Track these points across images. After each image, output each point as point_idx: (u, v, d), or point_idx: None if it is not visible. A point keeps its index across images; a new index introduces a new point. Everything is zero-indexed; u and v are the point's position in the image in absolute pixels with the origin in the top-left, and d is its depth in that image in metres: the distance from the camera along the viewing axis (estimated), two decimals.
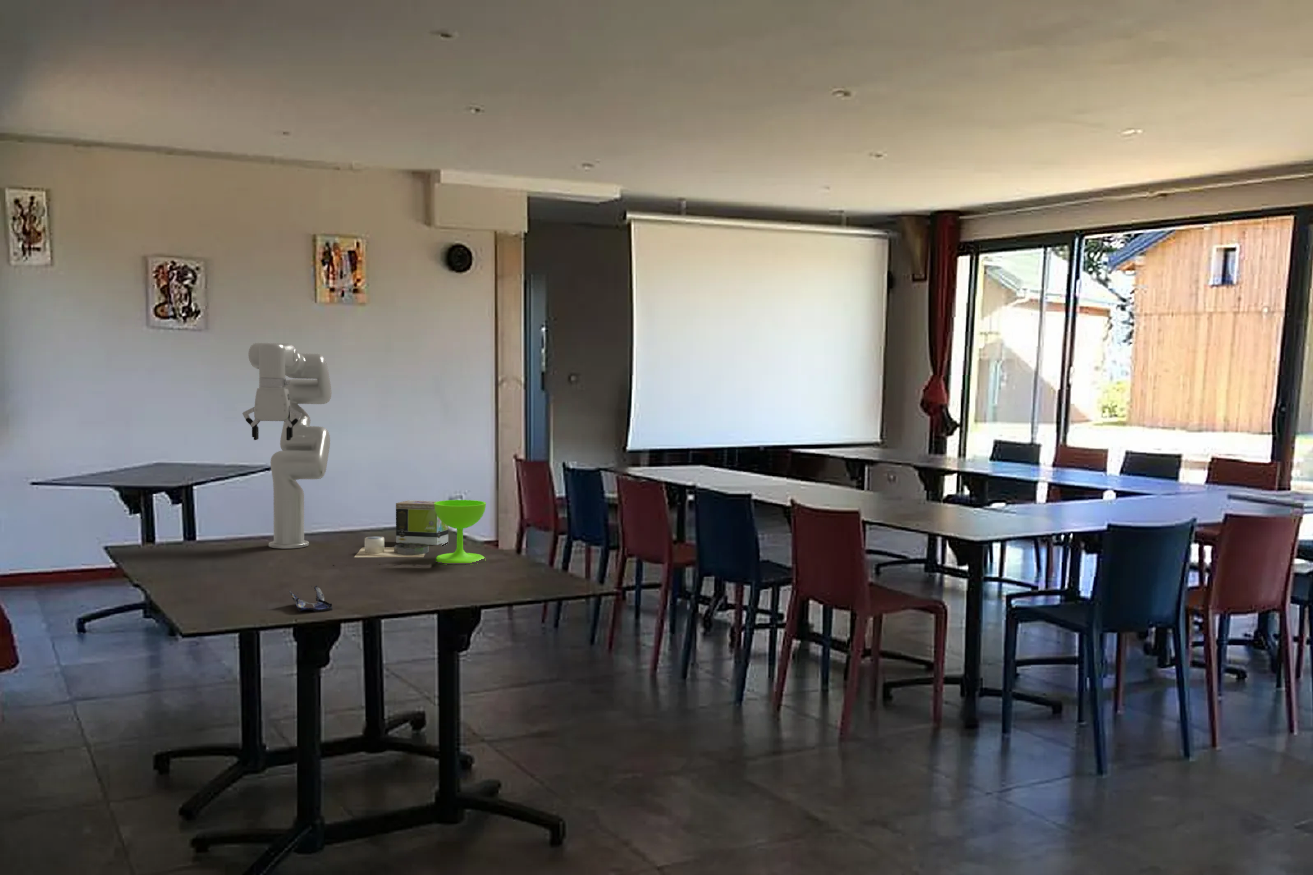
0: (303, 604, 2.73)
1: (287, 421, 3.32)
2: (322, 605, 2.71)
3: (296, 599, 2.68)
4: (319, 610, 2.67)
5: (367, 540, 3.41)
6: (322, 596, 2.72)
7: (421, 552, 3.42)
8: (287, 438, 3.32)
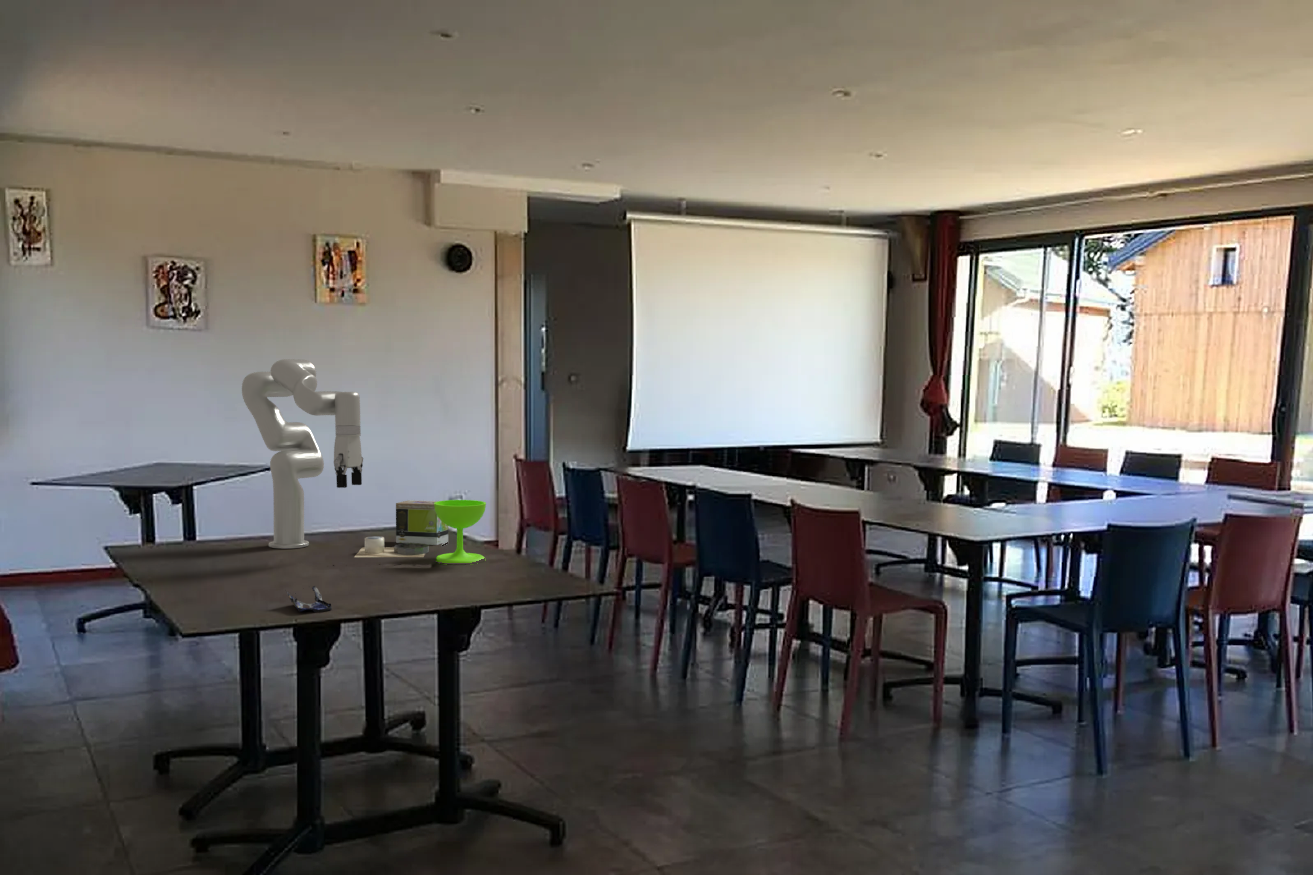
0: (300, 605, 2.72)
1: (359, 466, 3.44)
2: (320, 605, 2.71)
3: (295, 600, 2.67)
4: (319, 610, 2.66)
5: (367, 540, 3.41)
6: (320, 596, 2.72)
7: (421, 552, 3.42)
8: (361, 483, 3.44)
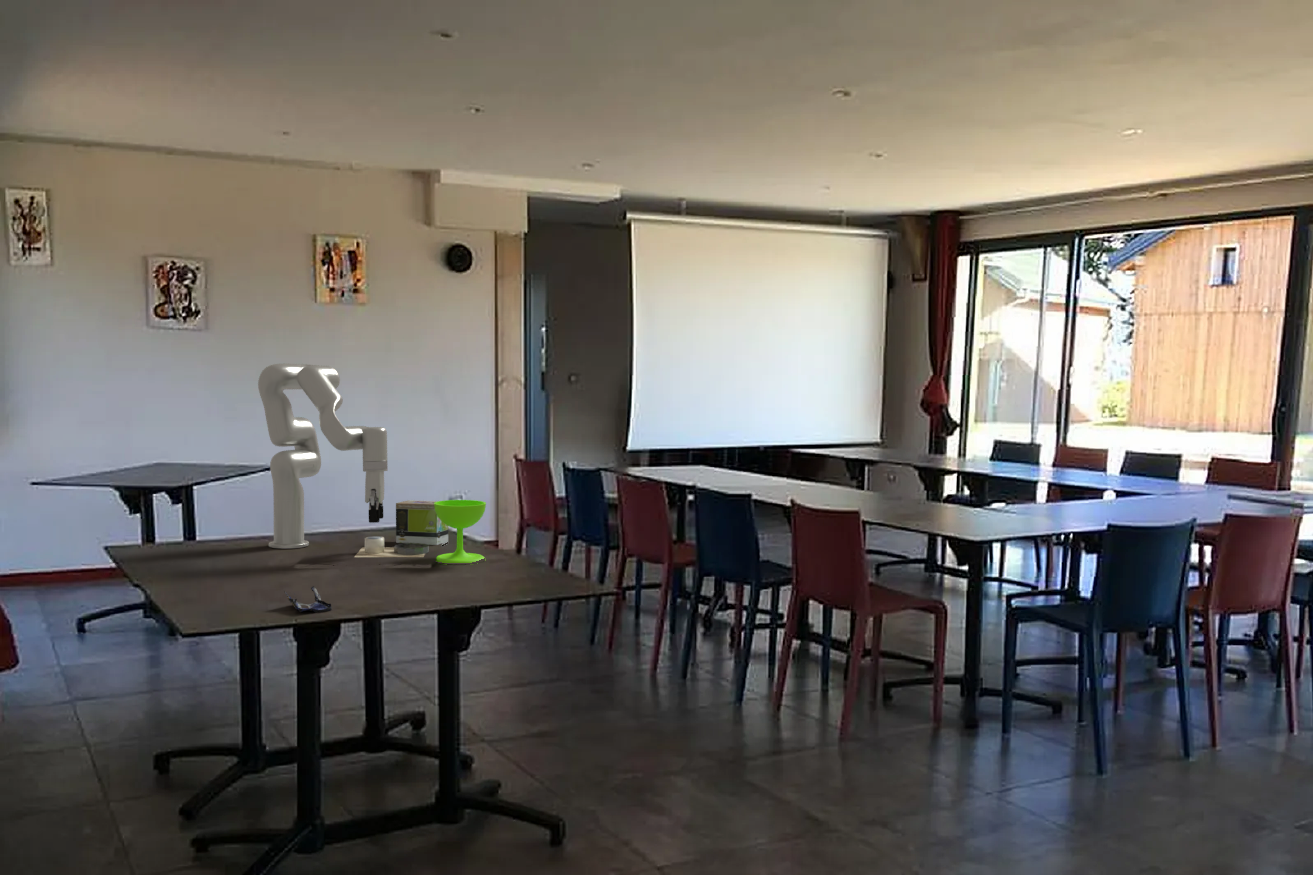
0: (298, 605, 2.72)
1: (382, 500, 3.48)
2: (319, 605, 2.70)
3: (294, 600, 2.66)
4: (319, 611, 2.66)
5: (367, 540, 3.41)
6: (319, 596, 2.71)
7: (421, 552, 3.42)
8: None
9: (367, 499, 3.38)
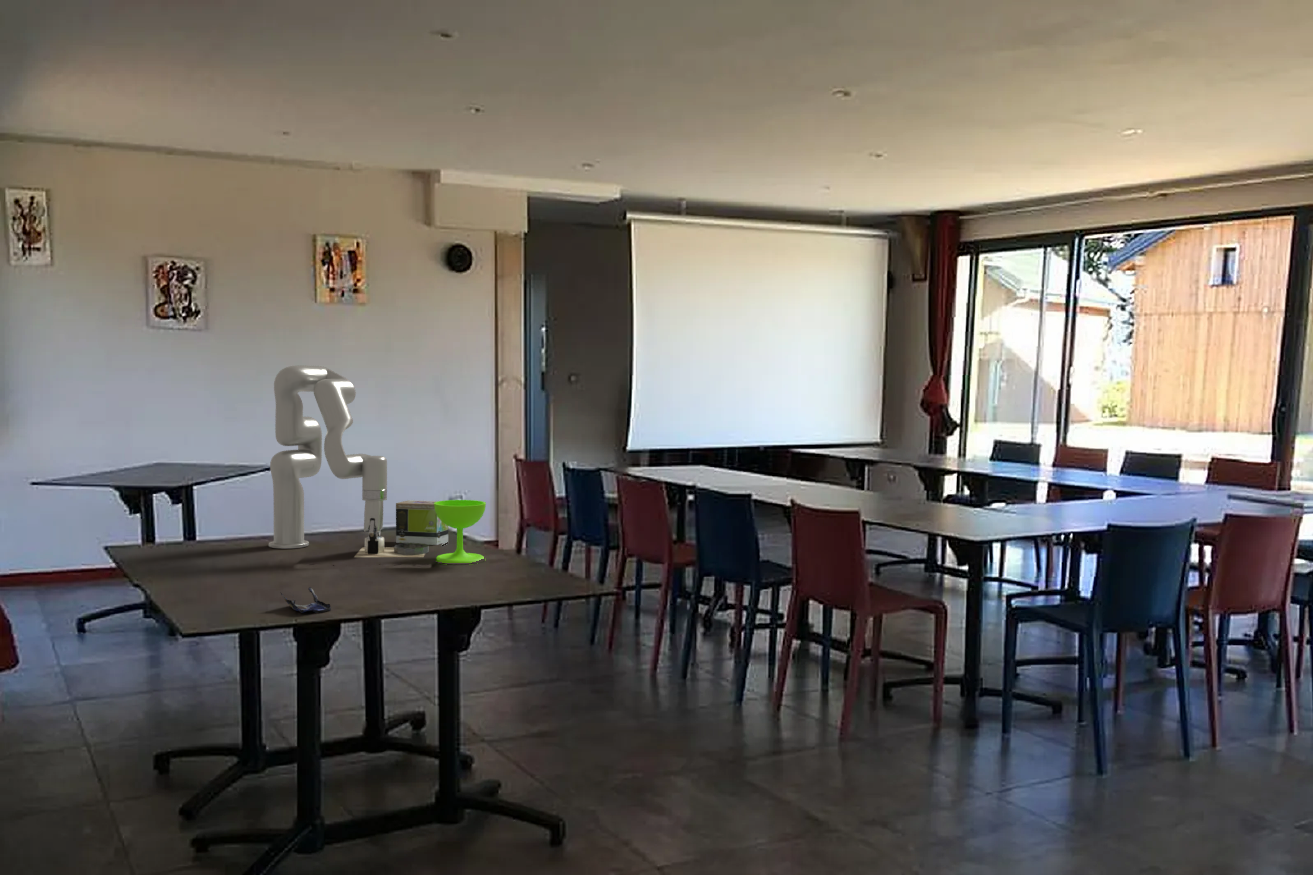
0: None
1: (380, 531, 3.48)
2: (317, 606, 2.70)
3: (293, 601, 2.65)
4: (320, 611, 2.65)
5: (367, 540, 3.41)
6: (316, 597, 2.71)
7: (421, 552, 3.42)
8: None
9: (366, 528, 3.39)
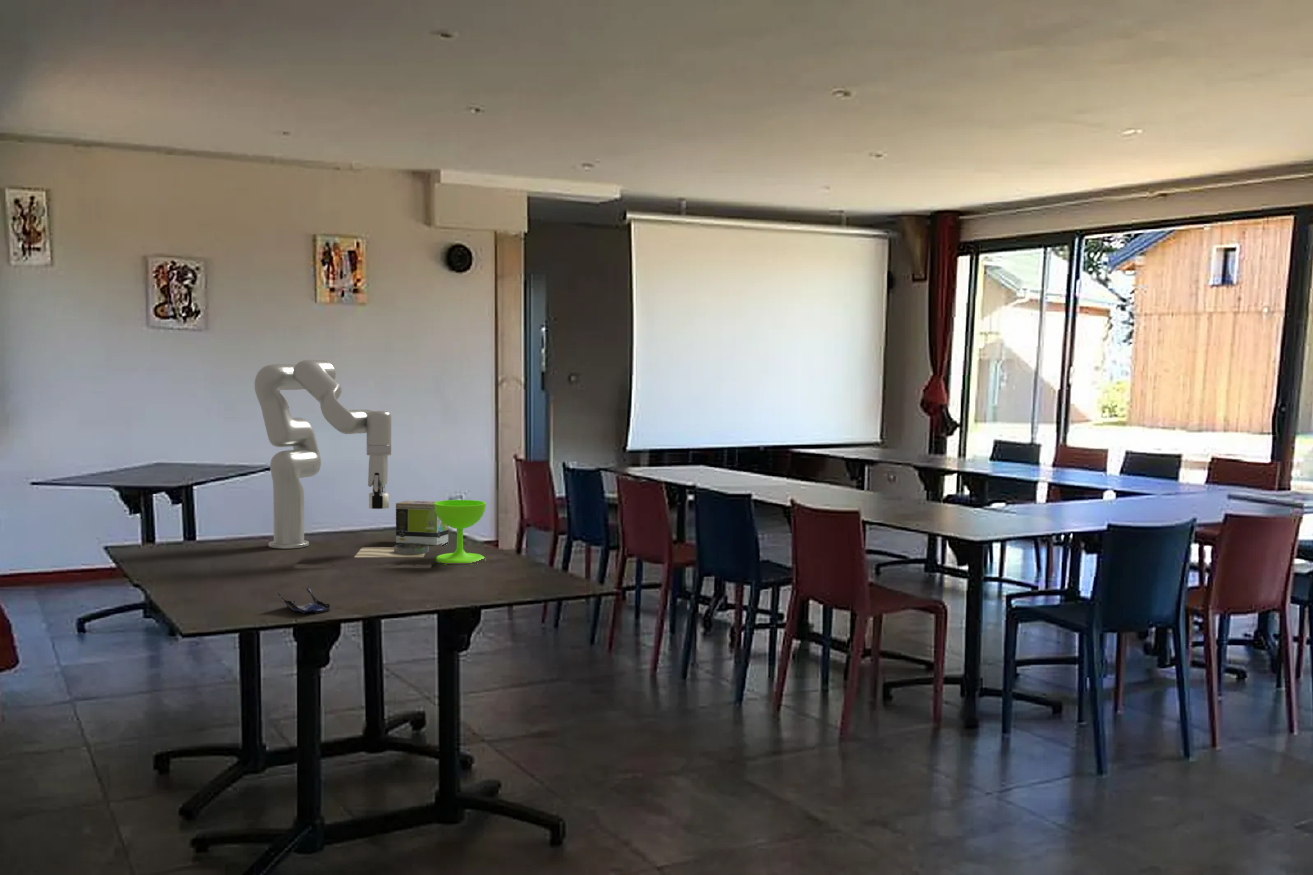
0: None
1: (384, 487, 3.47)
2: (315, 606, 2.69)
3: (293, 602, 2.64)
4: (320, 611, 2.65)
5: (371, 495, 3.41)
6: None
7: (421, 552, 3.42)
8: None
9: (370, 483, 3.38)
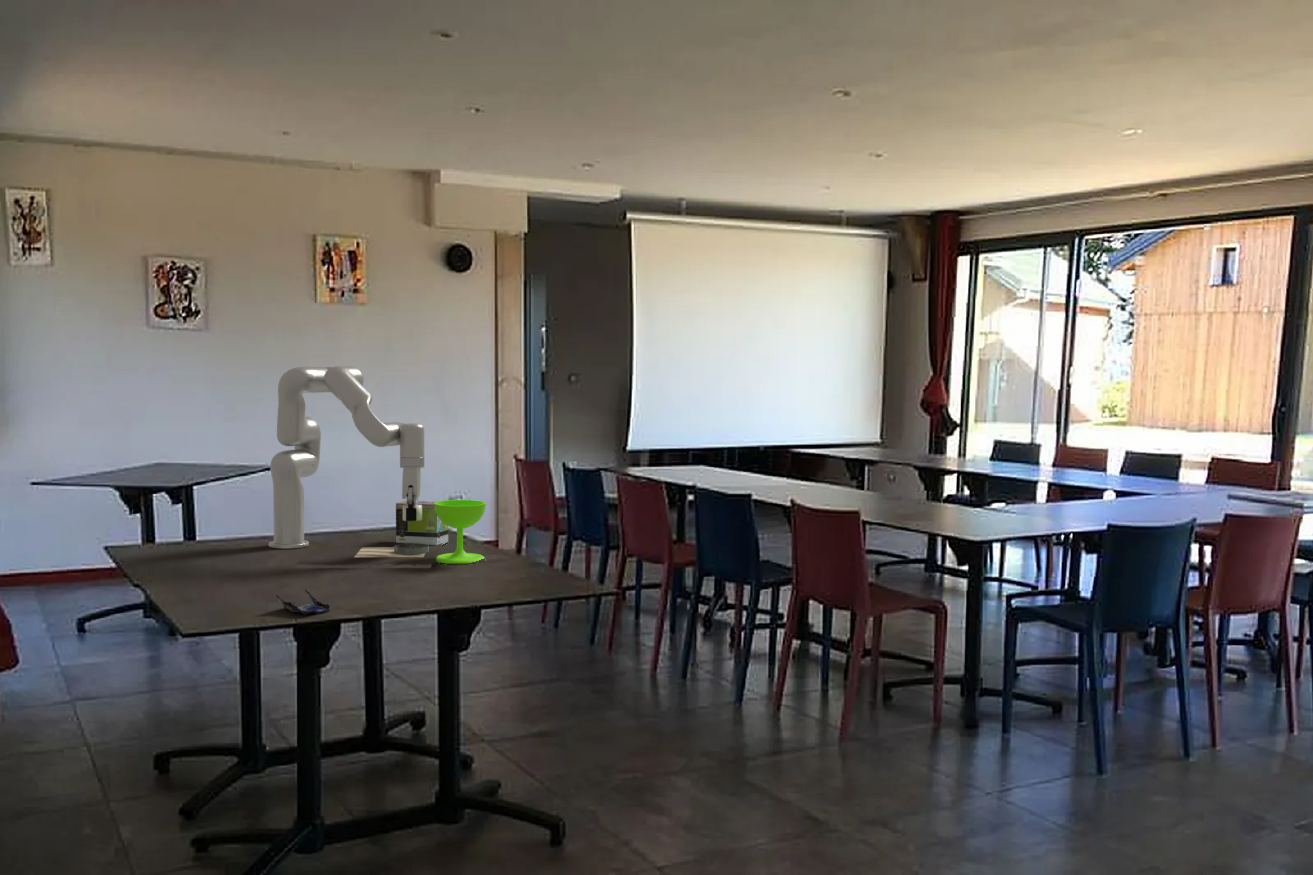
0: None
1: (417, 499, 3.48)
2: (314, 607, 2.68)
3: (293, 603, 2.63)
4: (320, 612, 2.65)
5: (405, 507, 3.42)
6: (311, 598, 2.69)
7: (421, 552, 3.42)
8: None
9: (404, 495, 3.39)
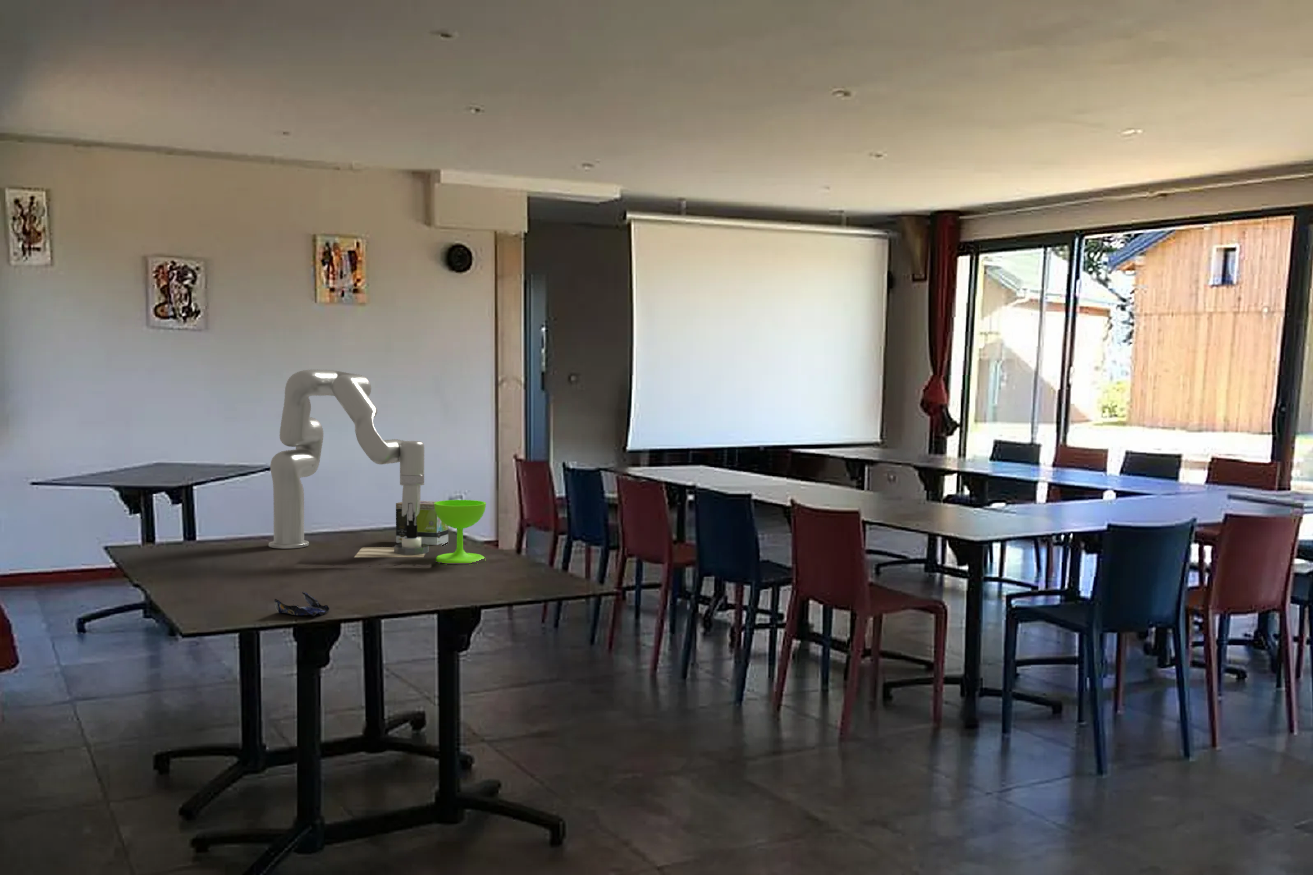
0: None
1: (416, 518, 3.47)
2: (311, 609, 2.66)
3: (297, 606, 2.60)
4: (324, 613, 2.64)
5: (404, 540, 3.43)
6: None
7: (421, 552, 3.42)
8: None
9: (404, 513, 3.40)
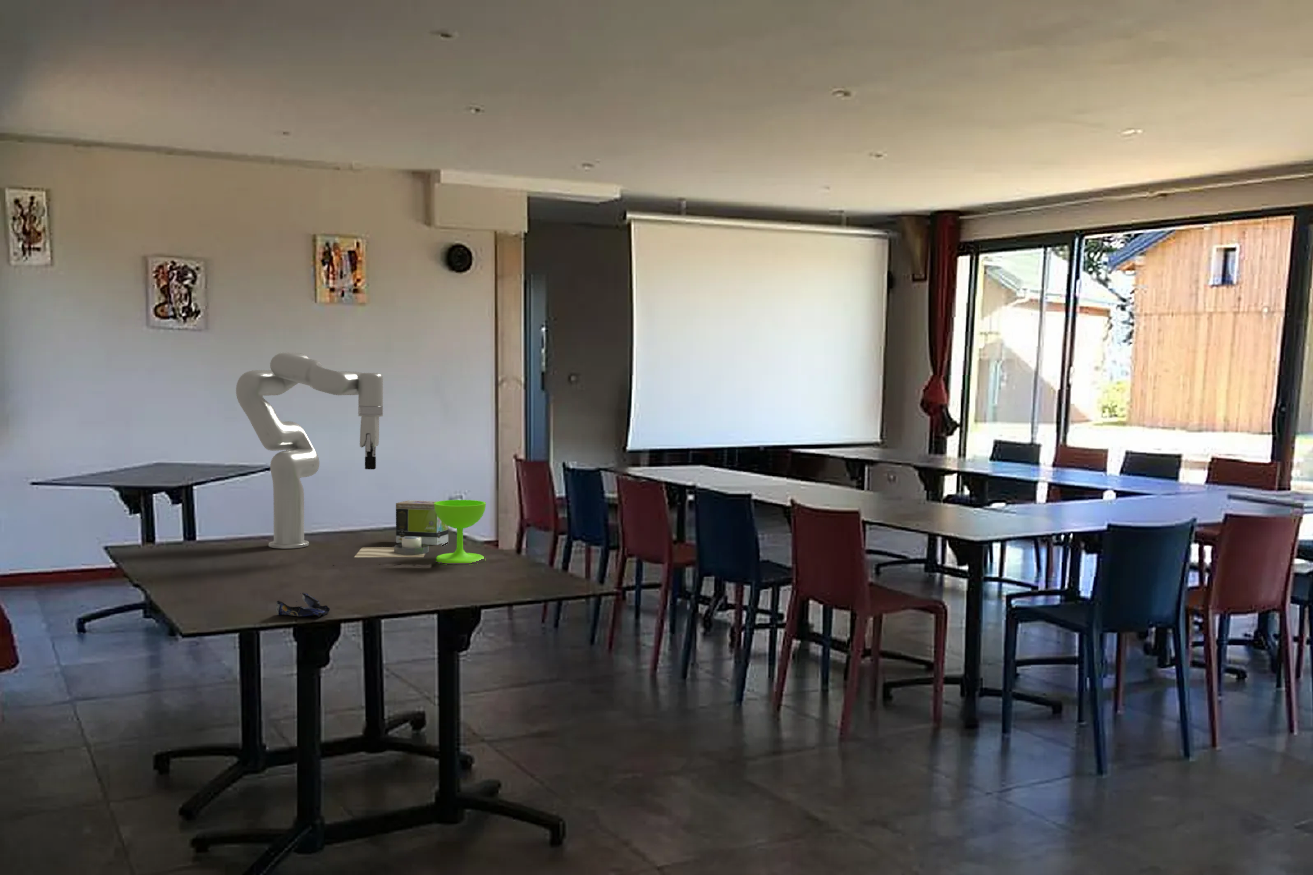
0: (286, 614, 2.62)
1: (375, 450, 3.49)
2: (310, 610, 2.65)
3: (301, 607, 2.59)
4: (326, 613, 2.63)
5: (404, 540, 3.43)
6: None
7: (421, 552, 3.42)
8: (375, 467, 3.48)
9: (362, 443, 3.42)
